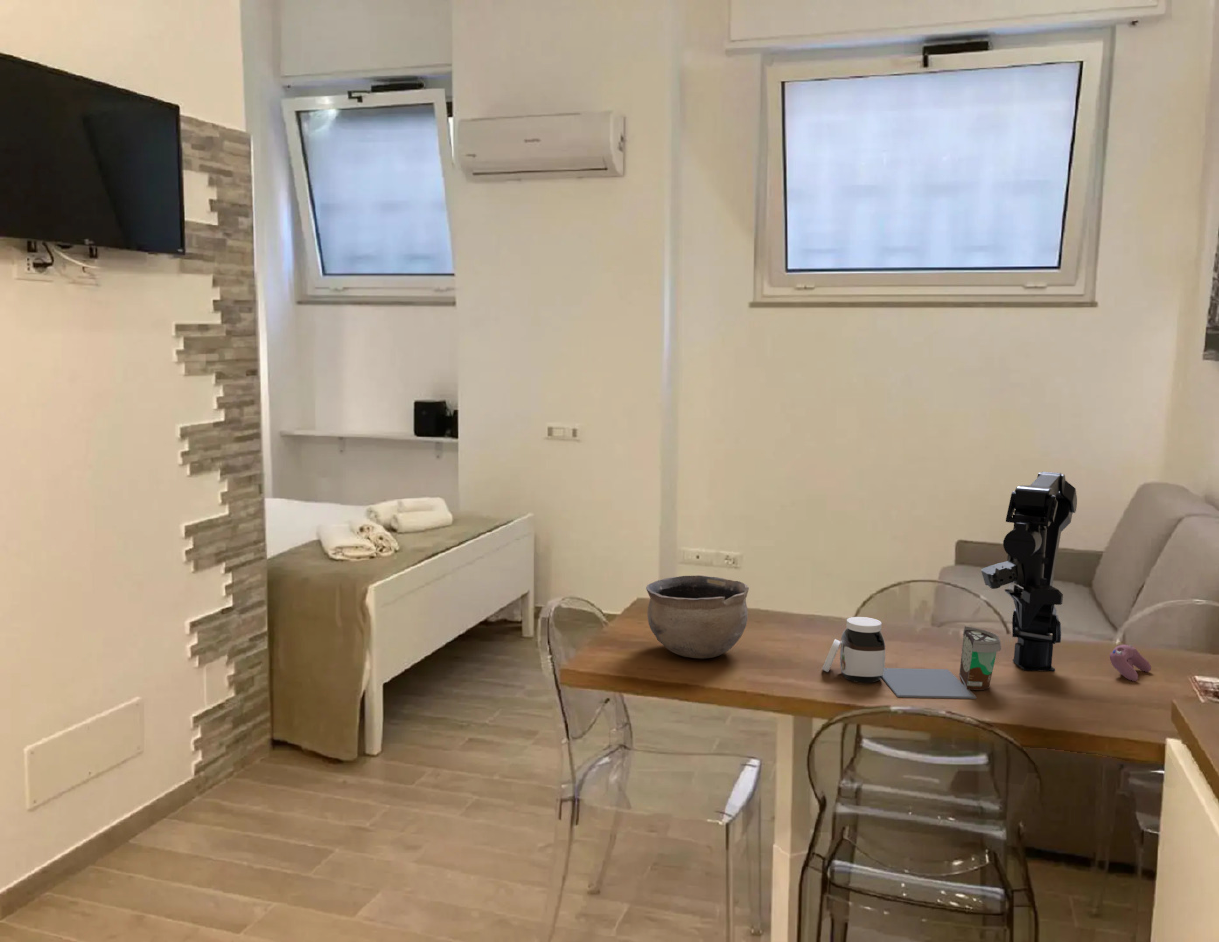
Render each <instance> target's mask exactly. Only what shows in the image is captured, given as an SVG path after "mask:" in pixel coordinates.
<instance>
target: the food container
mask: <svg viewBox="0 0 1219 942" xmlns="http://www.w3.org/2000/svg"><path fill="white" fill-rule="evenodd" d="M962 637H963V638H962V647H961V653H960V654H961V655H960V665H959V674H958V675H959V677H960V679H961V682H962V683H963V684H964V685H965V687H966V689H969V690H970V691H971V690H972V691H981V690H988V689H989V688H990V684H991V679H992V676H993V671H994V665H995V661H996V657H997V653H998V652H1000V651H1002V645H1001V640H1000V637H999V636H998V635H997V634H995V633H993V632H991V631H987V630H986V629H981V628H977V627H973V626H967V625H965V626H964V629H963V633H962Z"/></svg>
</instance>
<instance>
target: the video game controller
mask: <svg viewBox="0 0 1219 942" xmlns="http://www.w3.org/2000/svg"><path fill="white" fill-rule="evenodd" d="M1109 660H1110V663H1111V665H1112V666H1113V668H1115V669H1116V670H1117V671H1118V673H1119V674H1120V675H1121V676H1123V677H1124V678H1125V679H1127V680H1129V681H1131V680H1132V681H1131V682H1136V681H1138V680H1139V675H1138V672H1137V671H1136V669H1135V668H1137V669H1138V670H1140V671H1142V672H1144V671H1145V672H1144V673H1149V672H1151V670H1152V666H1151V664H1150V662H1149V661H1148V660H1147V659H1146V658H1145V657H1144V656H1143V655H1141V653H1140V652H1139V651H1138V650H1137V648H1136V647H1134V645H1132V644H1130V645H1128V644H1119V645H1117V646H1115V648H1113V650H1112V652H1110V653H1109Z"/></svg>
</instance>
